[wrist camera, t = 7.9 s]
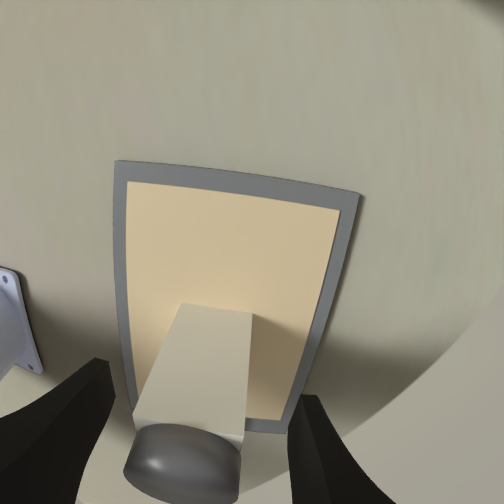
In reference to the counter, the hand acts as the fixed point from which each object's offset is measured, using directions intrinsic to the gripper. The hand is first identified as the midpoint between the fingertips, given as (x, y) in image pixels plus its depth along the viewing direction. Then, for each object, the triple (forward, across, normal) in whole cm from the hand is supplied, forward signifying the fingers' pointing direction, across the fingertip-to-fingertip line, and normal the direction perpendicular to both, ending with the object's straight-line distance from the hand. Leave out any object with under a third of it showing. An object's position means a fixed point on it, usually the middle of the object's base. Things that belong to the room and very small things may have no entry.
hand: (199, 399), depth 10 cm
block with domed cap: (+4, 0, 0) cm, 4 cm away
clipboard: (+5, 0, 0) cm, 5 cm away
